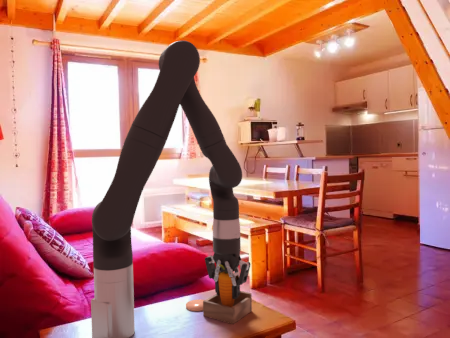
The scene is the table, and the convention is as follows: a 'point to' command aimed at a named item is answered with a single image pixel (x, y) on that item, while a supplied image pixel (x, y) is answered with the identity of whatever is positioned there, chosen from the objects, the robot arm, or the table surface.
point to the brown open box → (228, 308)
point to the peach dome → (195, 305)
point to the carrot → (225, 288)
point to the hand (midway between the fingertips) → (227, 296)
